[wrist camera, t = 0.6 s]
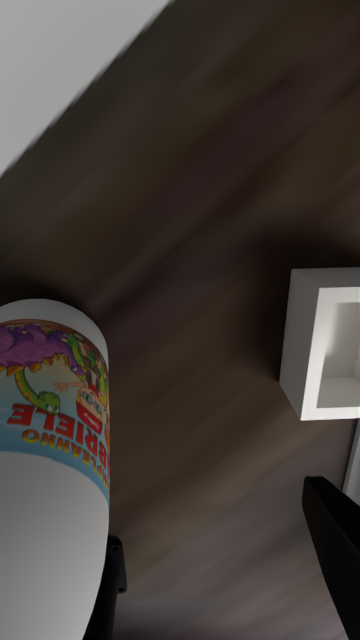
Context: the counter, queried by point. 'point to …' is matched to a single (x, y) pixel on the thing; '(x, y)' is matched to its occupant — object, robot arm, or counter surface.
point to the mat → (354, 470)
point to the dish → (323, 343)
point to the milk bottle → (51, 469)
